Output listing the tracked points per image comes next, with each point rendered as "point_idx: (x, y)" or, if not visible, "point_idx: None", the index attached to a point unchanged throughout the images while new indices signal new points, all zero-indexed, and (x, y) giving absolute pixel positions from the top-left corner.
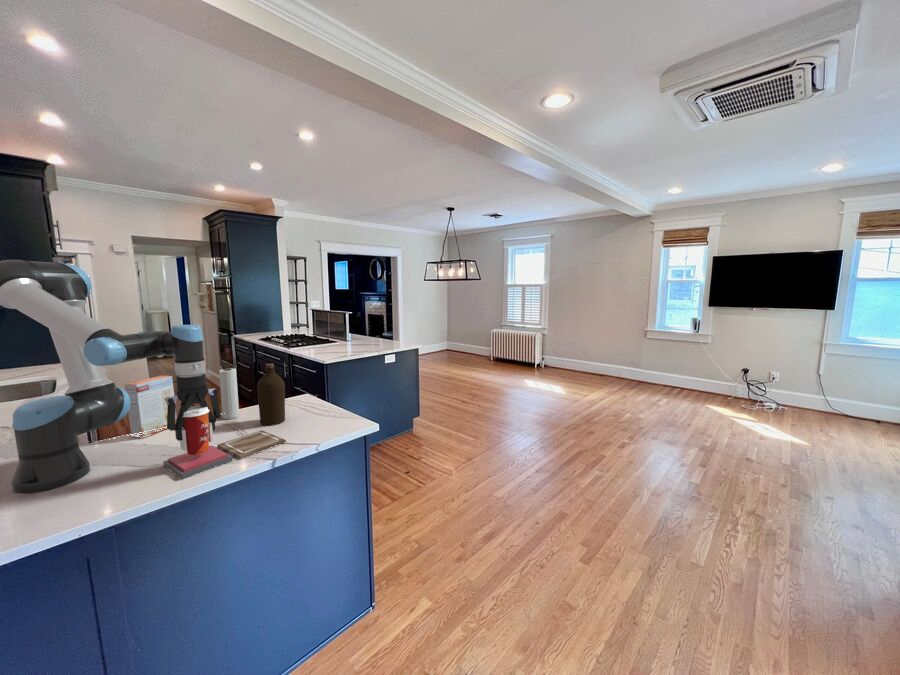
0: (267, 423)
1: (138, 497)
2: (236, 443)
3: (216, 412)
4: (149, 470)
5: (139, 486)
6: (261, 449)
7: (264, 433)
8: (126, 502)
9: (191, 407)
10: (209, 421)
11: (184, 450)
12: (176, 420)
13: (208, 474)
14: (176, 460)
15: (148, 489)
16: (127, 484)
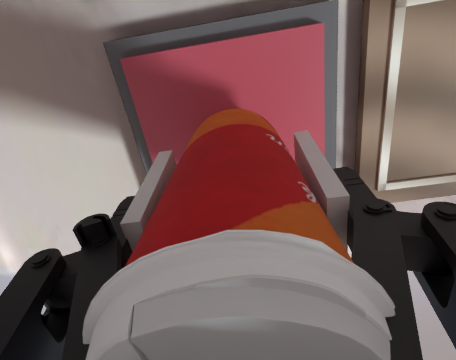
0: None
1: (62, 235)
2: (438, 44)
3: (439, 316)
4: (59, 41)
5: (51, 170)
6: (445, 194)
7: None
8: (38, 241)
9: (225, 350)
10: (347, 225)
11: None
12: (74, 291)
13: None
14: (152, 115)
15: (80, 208)
16: (7, 125)
